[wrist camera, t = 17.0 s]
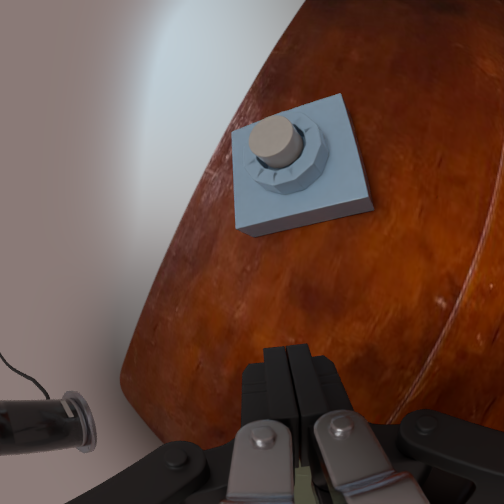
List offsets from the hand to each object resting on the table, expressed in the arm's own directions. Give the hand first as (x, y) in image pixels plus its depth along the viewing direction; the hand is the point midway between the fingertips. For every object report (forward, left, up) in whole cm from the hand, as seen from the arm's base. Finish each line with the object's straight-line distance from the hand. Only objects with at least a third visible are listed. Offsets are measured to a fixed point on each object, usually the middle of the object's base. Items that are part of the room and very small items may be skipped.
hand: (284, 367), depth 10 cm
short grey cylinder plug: (-3, +15, -9) cm, 18 cm away
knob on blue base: (-3, +15, -14) cm, 20 cm away
